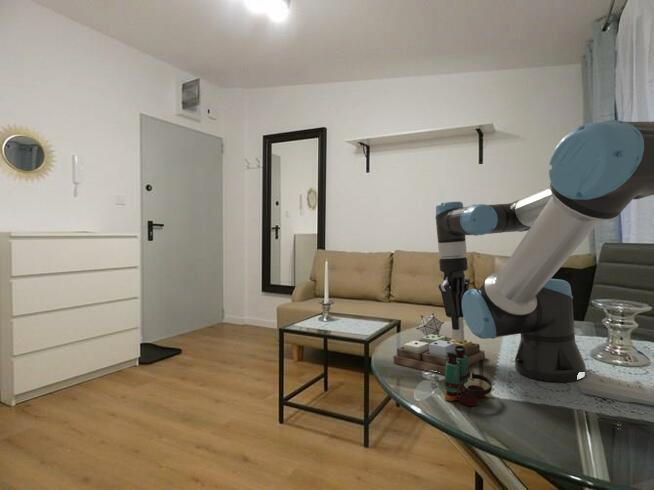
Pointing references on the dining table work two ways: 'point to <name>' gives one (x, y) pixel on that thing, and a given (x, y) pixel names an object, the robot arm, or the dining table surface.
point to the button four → (463, 343)
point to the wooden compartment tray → (434, 358)
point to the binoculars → (462, 379)
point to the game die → (430, 325)
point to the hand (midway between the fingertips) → (458, 340)
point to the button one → (416, 346)
